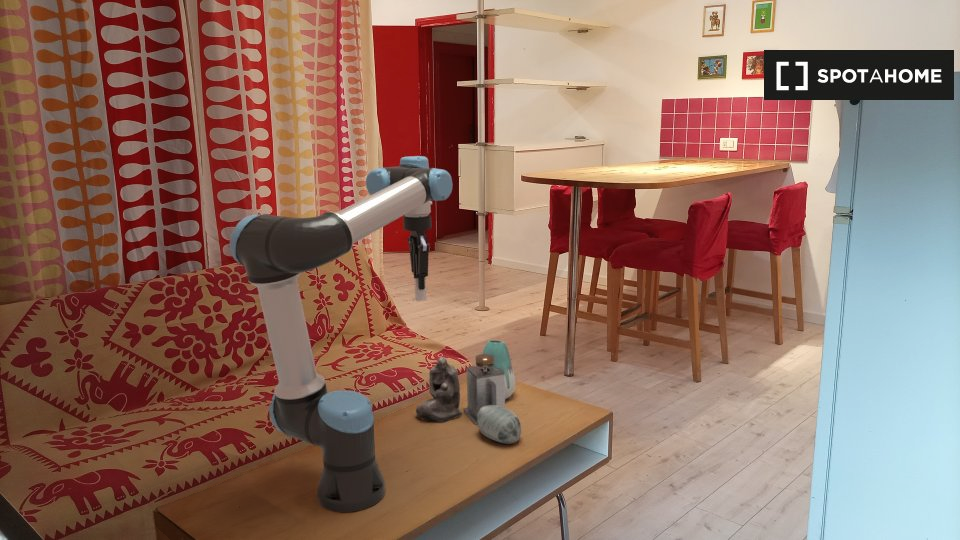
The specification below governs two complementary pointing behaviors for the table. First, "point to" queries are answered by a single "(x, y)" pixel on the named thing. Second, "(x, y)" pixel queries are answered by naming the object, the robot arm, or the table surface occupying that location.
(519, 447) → the table surface
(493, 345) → the vase
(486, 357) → the plunger
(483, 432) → the striped grey egg shape
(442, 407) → the figurine
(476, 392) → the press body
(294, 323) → the robot arm
